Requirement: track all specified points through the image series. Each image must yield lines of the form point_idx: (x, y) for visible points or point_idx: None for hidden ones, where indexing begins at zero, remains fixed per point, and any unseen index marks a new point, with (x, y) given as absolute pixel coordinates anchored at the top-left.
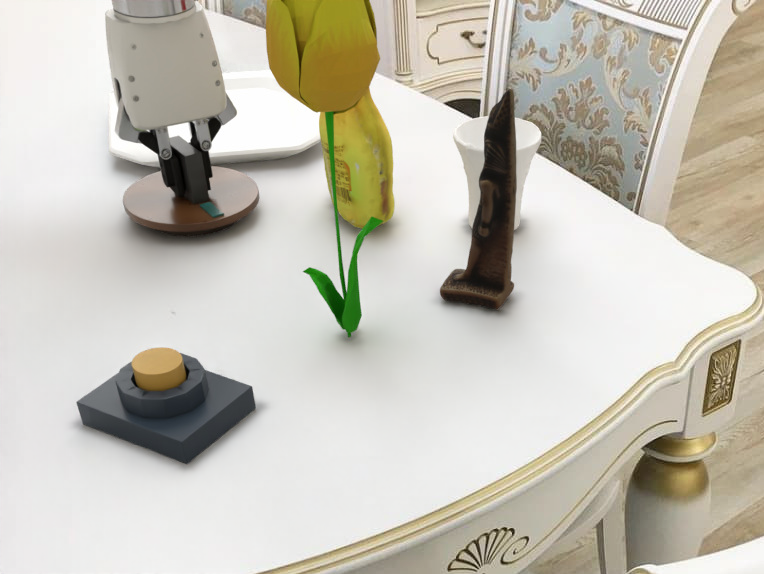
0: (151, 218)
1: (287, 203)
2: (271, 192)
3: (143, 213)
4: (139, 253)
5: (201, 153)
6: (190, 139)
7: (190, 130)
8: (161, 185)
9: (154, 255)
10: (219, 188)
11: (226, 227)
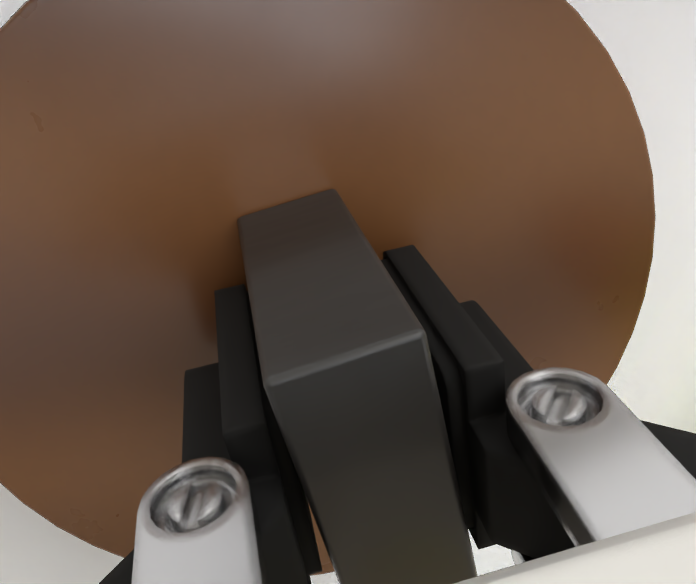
0: (93, 526)
1: (684, 265)
2: (683, 142)
3: (51, 475)
4: (33, 529)
5: (490, 542)
6: (490, 449)
7: (540, 482)
8: (168, 177)
9: (96, 547)
10: (473, 299)
11: None
